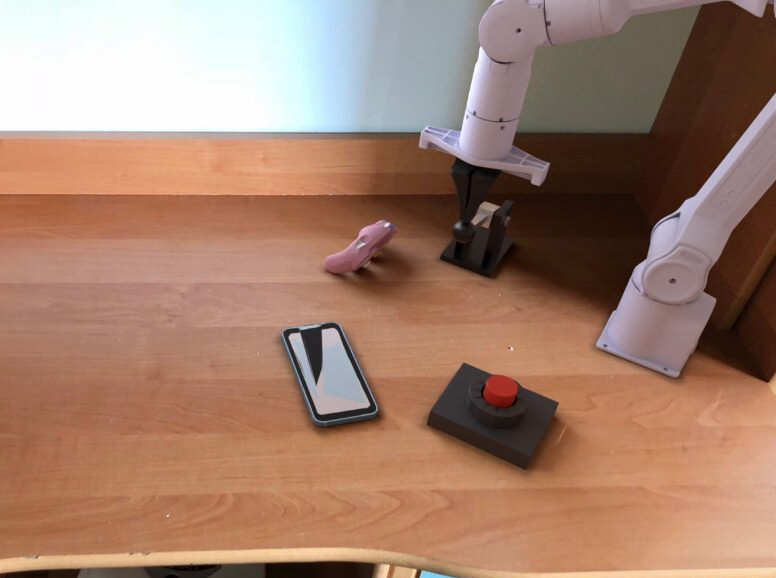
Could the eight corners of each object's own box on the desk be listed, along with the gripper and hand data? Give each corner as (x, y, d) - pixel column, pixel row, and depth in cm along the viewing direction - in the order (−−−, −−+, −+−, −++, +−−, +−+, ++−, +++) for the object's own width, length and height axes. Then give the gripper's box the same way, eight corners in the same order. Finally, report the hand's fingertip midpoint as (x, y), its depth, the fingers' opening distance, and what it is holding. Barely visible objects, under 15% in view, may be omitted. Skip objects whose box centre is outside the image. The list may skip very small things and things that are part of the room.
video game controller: (342, 291, 103) (369, 261, 97) (318, 266, 103) (343, 235, 97) (383, 256, 108) (410, 226, 103) (359, 232, 109) (385, 201, 103)
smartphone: (314, 424, 83) (278, 328, 93) (314, 430, 84) (278, 334, 94) (381, 413, 84) (338, 320, 94) (380, 418, 85) (338, 326, 95)
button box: (553, 416, 86) (564, 390, 83) (525, 470, 81) (535, 445, 78) (459, 375, 90) (466, 350, 87) (426, 424, 84) (432, 399, 82)
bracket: (488, 278, 103) (502, 228, 98) (439, 260, 106) (450, 210, 100) (513, 245, 109) (527, 196, 103) (465, 228, 111) (477, 179, 106)
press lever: (467, 248, 95) (474, 227, 94) (446, 240, 96) (452, 219, 95) (496, 226, 104) (503, 206, 103) (476, 219, 105) (483, 199, 104)
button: (518, 394, 83) (522, 382, 82) (507, 413, 81) (511, 401, 80) (489, 382, 84) (493, 370, 83) (478, 400, 82) (481, 388, 81)
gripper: (570, 114, 85) (537, 222, 94) (446, 78, 90) (425, 184, 100) (549, 140, 81) (516, 250, 90) (419, 101, 86) (401, 209, 95)
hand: (467, 217), depth 95 cm, fingers closed
